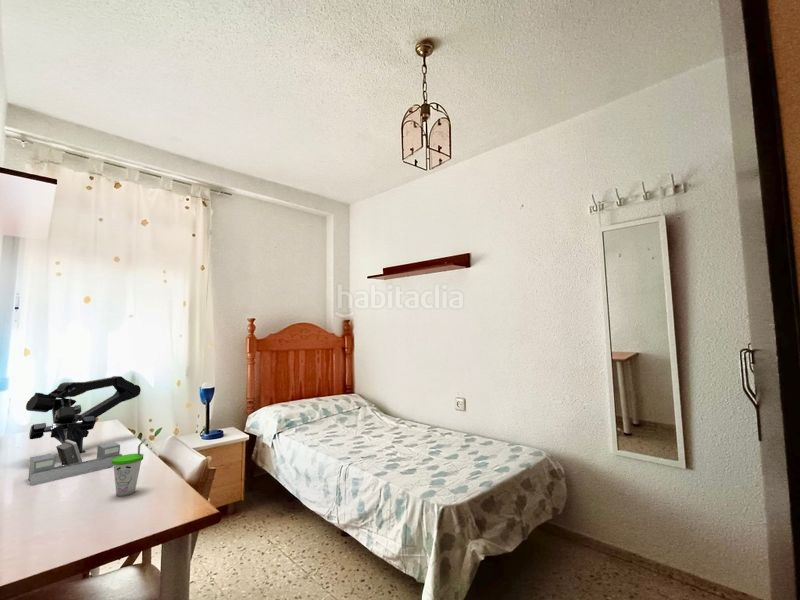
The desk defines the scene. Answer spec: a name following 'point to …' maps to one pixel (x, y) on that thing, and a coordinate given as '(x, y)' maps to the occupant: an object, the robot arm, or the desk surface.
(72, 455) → the electrical switch
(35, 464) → the mounted modules
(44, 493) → the desk surface
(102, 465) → the rail
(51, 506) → the desk surface
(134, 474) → the cup
